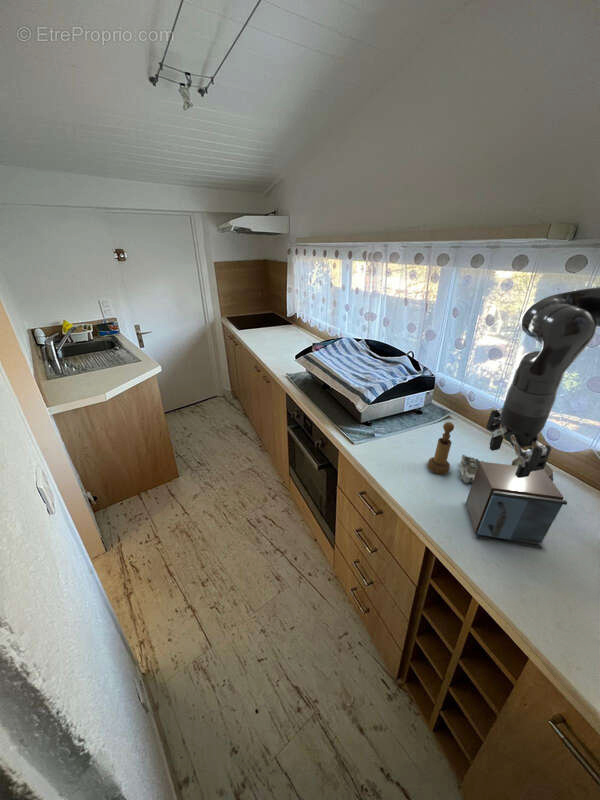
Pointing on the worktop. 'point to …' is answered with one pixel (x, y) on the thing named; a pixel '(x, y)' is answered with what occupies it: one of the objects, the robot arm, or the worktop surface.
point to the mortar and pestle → (442, 452)
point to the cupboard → (505, 483)
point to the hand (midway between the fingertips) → (506, 461)
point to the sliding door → (501, 517)
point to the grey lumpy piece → (468, 468)
